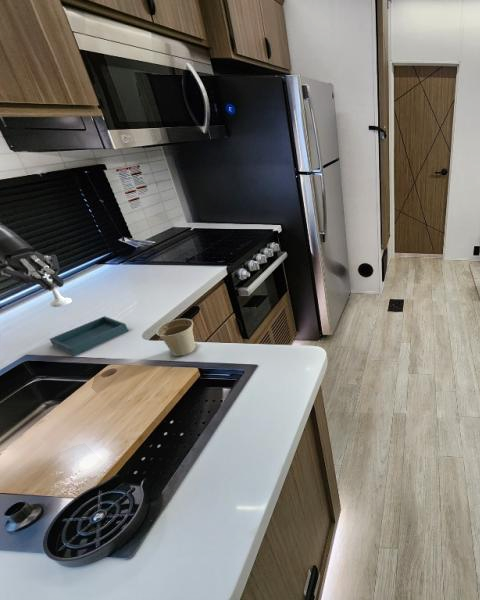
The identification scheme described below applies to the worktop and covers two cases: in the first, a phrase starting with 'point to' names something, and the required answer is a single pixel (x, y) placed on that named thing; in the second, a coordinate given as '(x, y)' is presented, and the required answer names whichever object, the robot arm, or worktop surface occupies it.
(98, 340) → the tray
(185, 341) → the flower pot
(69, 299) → the chess piece
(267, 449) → the worktop surface
